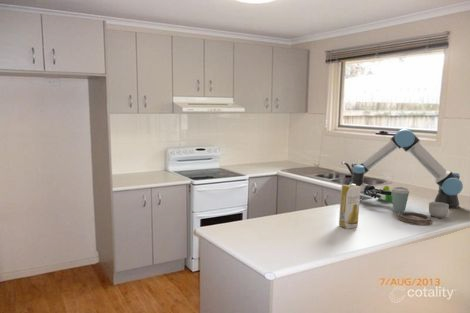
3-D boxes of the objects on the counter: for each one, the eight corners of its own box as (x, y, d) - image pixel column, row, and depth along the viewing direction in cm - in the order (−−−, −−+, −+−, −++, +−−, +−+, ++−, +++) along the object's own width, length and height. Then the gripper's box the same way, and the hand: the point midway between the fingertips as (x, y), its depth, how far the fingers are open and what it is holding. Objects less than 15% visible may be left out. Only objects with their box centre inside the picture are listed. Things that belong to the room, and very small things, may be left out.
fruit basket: (395, 200, 268) (396, 185, 266) (393, 203, 260) (394, 187, 259) (378, 198, 274) (379, 182, 272) (376, 200, 266) (377, 184, 265)
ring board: (411, 214, 233) (411, 210, 233) (439, 222, 216) (440, 218, 216) (389, 217, 225) (390, 213, 224) (417, 226, 208) (418, 222, 208)
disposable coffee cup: (406, 214, 231) (408, 191, 229) (387, 211, 237) (389, 188, 235) (408, 210, 240) (410, 188, 238) (390, 208, 246) (392, 185, 244)
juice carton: (346, 229, 198) (350, 185, 195) (336, 225, 205) (339, 182, 202) (359, 227, 202) (363, 184, 199) (349, 223, 209) (352, 181, 206)
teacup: (450, 219, 224) (451, 206, 222) (430, 218, 226) (432, 205, 225) (442, 213, 237) (443, 201, 236) (423, 212, 239) (425, 199, 238)
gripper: (380, 193, 266) (405, 200, 248) (353, 196, 255) (378, 204, 237) (380, 183, 266) (406, 189, 247) (354, 185, 254) (379, 192, 236)
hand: (392, 196), depth 242 cm, fingers open, 13 cm apart
